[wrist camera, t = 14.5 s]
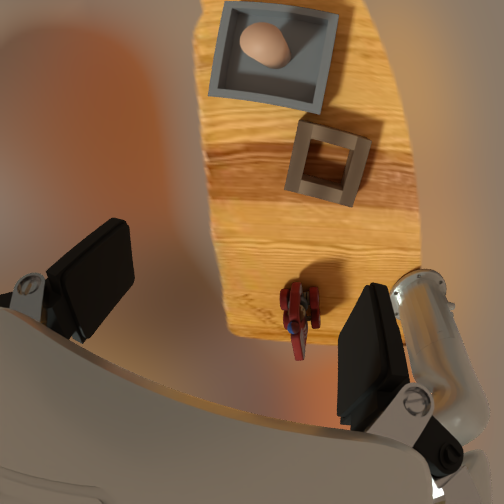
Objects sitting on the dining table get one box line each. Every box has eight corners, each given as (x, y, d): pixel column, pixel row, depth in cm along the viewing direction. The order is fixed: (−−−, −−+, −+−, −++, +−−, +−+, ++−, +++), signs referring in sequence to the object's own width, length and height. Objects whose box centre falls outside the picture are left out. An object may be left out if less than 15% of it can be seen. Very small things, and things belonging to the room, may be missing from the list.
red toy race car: (317, 274, 48) (315, 314, 39) (321, 322, 53) (319, 363, 45) (279, 276, 50) (270, 316, 41) (288, 324, 55) (281, 363, 47)
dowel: (283, 37, 28) (272, 16, 19) (296, 63, 30) (290, 50, 21) (254, 47, 29) (233, 32, 20) (266, 73, 31) (249, 65, 22)
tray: (336, 23, 26) (338, 14, 22) (319, 113, 34) (320, 114, 30) (232, 9, 27) (224, 1, 24) (217, 96, 35) (207, 96, 32)
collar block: (366, 137, 34) (371, 141, 31) (349, 199, 39) (352, 207, 36) (299, 119, 35) (298, 120, 32) (286, 182, 40) (284, 189, 37)
